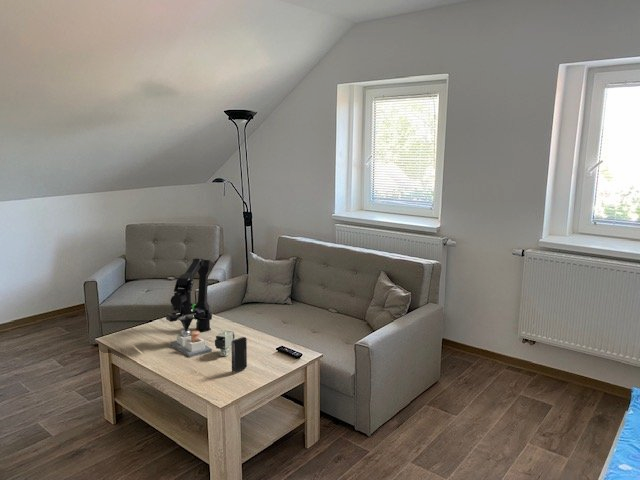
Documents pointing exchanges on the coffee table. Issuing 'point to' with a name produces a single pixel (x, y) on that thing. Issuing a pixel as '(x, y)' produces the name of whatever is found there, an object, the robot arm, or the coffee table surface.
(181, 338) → the board
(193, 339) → the plug terracotta
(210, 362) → the coffee table surface
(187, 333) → the plug metal
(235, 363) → the phone
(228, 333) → the pneumatic valve
